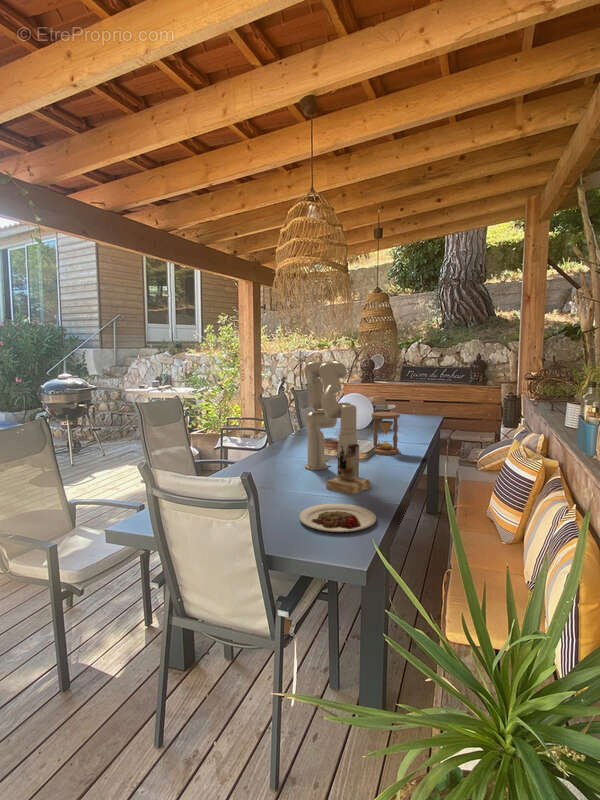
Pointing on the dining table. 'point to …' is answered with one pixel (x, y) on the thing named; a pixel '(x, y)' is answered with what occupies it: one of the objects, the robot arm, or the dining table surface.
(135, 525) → the dining table surface
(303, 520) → the plated food
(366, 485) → the sliced bread
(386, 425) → the hourglass
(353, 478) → the coffee box
